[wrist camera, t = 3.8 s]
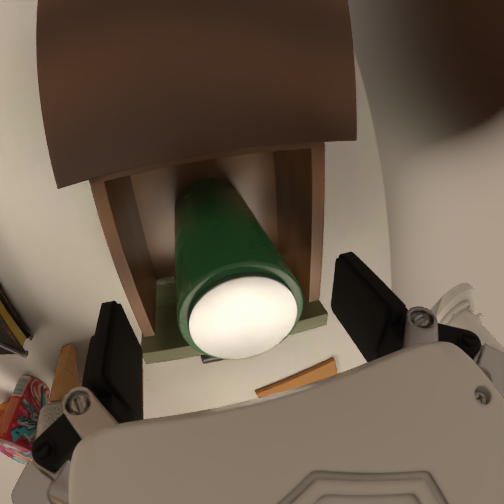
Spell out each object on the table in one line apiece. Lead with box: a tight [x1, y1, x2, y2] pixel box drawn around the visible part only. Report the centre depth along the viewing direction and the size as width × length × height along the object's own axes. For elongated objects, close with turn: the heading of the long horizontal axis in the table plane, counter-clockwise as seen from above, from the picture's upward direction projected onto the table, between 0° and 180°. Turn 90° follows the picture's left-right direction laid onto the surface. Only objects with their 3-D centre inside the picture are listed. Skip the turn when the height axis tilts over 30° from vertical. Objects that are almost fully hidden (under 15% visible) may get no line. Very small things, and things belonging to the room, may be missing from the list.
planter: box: [35, 344, 144, 440], centre depth 22 cm, size 13×13×18 cm
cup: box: [0, 375, 50, 465], centre depth 23 cm, size 9×8×12 cm
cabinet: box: [36, 0, 357, 189], centre depth 12 cm, size 15×15×10 cm
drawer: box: [89, 142, 328, 364], centre depth 20 cm, size 18×13×8 cm
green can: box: [175, 178, 303, 359], centre depth 16 cm, size 5×5×12 cm
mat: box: [255, 358, 337, 398], centre depth 39 cm, size 12×7×1 cm, turn 109°
